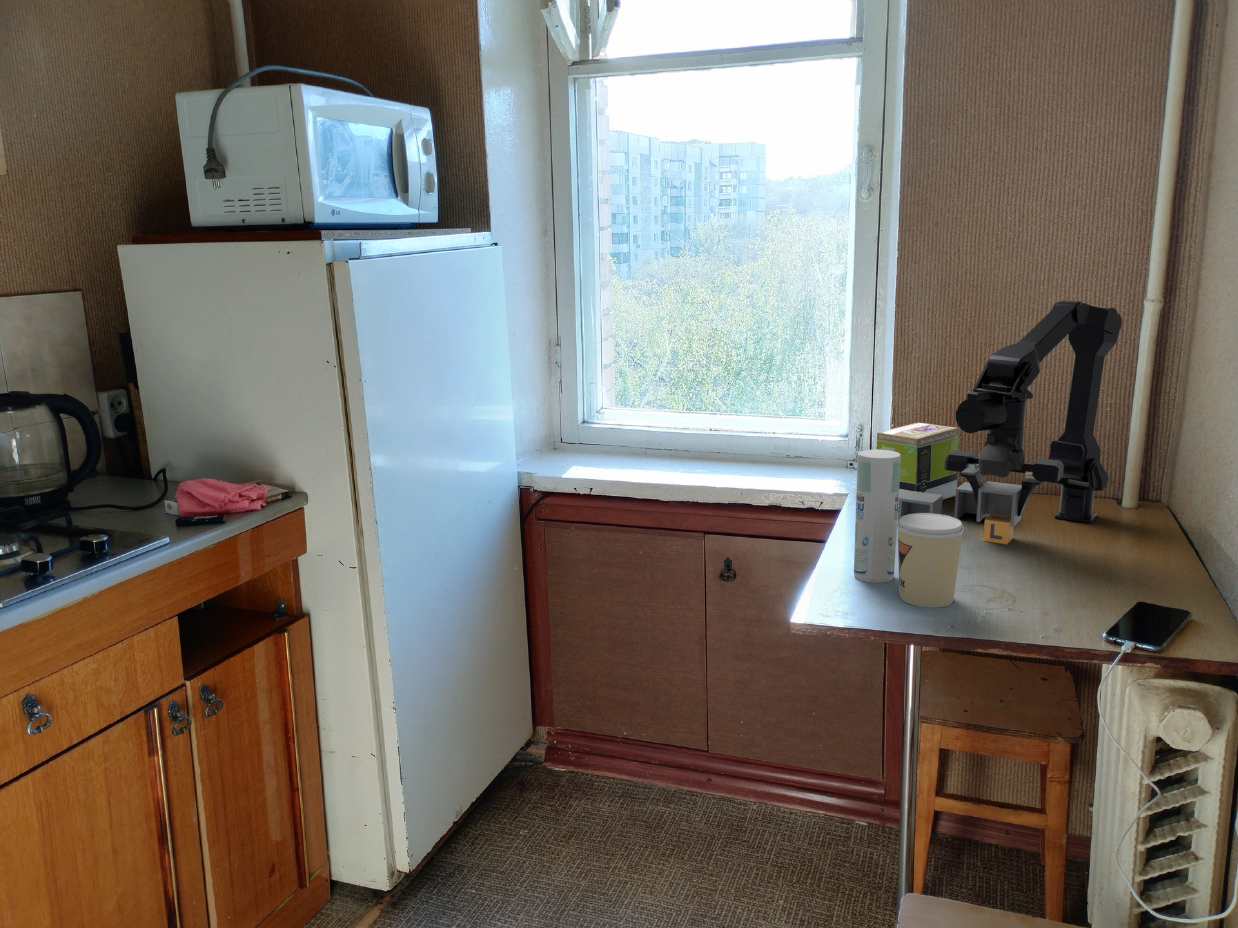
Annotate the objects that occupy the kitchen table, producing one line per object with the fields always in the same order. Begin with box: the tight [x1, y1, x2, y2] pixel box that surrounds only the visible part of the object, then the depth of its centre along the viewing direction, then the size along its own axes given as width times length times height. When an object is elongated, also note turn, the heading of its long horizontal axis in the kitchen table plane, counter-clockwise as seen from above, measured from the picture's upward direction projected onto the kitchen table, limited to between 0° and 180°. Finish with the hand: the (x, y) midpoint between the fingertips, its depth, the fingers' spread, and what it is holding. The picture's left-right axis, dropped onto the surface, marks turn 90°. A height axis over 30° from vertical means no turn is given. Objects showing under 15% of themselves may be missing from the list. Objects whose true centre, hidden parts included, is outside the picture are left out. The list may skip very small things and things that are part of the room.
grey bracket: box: [976, 480, 1023, 528], centre depth 170 cm, size 6×6×6 cm
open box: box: [953, 481, 989, 520], centre depth 185 cm, size 6×6×6 cm
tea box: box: [876, 422, 960, 505], centre depth 198 cm, size 15×10×15 cm, turn 130°
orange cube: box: [982, 514, 1014, 545], centre depth 171 cm, size 4×4×4 cm
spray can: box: [853, 449, 901, 584], centre depth 152 cm, size 6×6×20 cm
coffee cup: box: [897, 513, 965, 609], centre depth 143 cm, size 9×9×12 cm
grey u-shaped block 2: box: [897, 491, 944, 530], centre depth 179 cm, size 6×6×6 cm
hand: (999, 513), depth 171 cm, fingers closed on grey bracket, 6 cm apart
